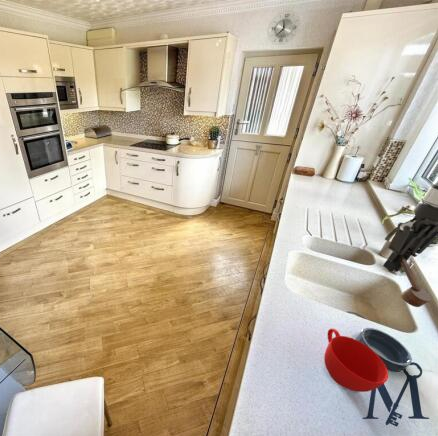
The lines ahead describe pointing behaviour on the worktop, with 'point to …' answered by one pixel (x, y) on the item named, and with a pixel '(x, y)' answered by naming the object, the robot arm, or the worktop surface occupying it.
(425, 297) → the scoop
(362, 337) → the bowl
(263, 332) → the worktop surface
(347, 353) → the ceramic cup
